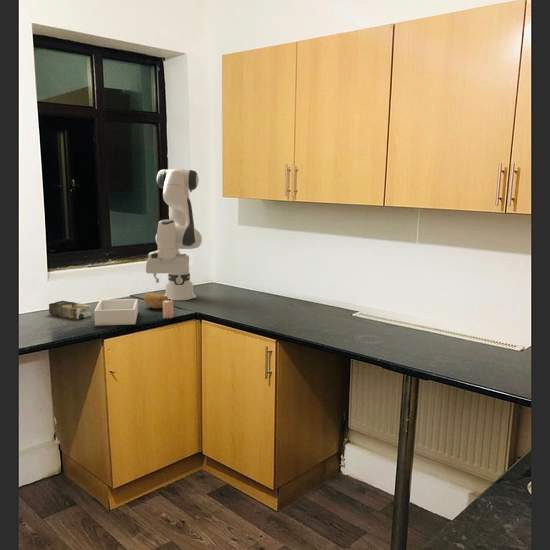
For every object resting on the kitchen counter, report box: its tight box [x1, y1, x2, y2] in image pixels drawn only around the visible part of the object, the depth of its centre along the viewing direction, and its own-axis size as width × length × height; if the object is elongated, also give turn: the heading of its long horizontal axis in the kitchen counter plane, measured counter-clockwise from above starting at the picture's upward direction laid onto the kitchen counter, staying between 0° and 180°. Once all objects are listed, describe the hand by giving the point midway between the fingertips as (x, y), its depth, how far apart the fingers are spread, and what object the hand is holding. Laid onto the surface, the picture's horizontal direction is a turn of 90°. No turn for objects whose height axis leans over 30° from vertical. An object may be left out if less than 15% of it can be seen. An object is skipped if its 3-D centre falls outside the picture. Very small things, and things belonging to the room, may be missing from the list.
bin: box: [94, 298, 139, 326], centre depth 265 cm, size 22×18×7 cm
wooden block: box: [162, 300, 174, 320], centre depth 269 cm, size 5×5×8 cm
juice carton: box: [48, 300, 92, 320], centre depth 270 cm, size 20×10×6 cm, turn 64°
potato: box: [143, 292, 169, 310], centre depth 287 cm, size 10×14×8 cm
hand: (167, 282), depth 267 cm, fingers open, 8 cm apart
